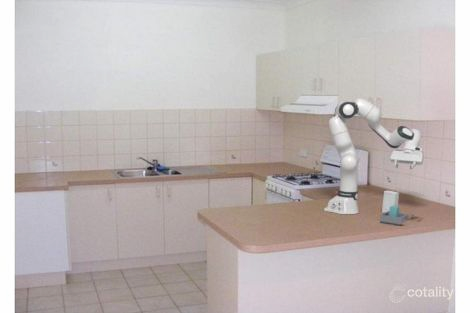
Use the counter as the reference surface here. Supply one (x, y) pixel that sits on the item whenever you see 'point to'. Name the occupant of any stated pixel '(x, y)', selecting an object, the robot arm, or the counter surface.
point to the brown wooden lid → (414, 218)
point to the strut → (394, 211)
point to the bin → (393, 219)
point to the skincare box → (389, 200)
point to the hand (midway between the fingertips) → (403, 167)
